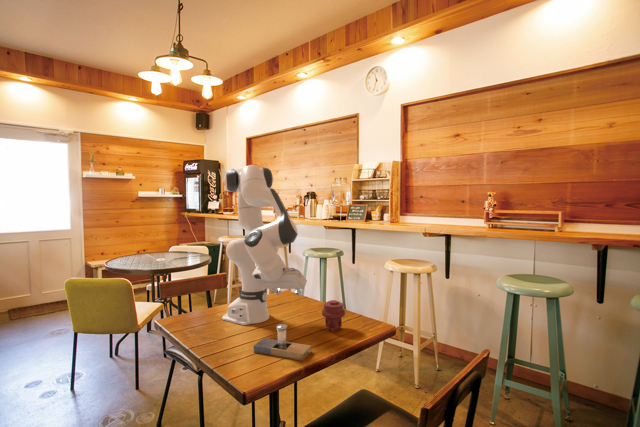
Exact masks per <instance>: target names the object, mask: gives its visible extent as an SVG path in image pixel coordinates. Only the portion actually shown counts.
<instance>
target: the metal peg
mask: <svg viewBox="0 0 640 427" xmlns="http://www.w3.org/2000/svg"><path fill="white" fill-rule="evenodd" d="M287 329H288V324H285V323H279V324H277V325H276V330H277V340H278V349H283V350H286V342H287Z"/></svg>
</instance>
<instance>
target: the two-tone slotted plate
mask: <svg viewBox="0 0 640 427" xmlns="http://www.w3.org/2000/svg"><path fill="white" fill-rule="evenodd" d="M253 353H257V354H261V355H268V356H272V357H273V356H274V357H279V358H284V359H289V360H291V359H292V360H295V361H301V362H303V361H304V360H305V359H306V358H307V357H308V356H309V355H310V354H311V353H312V345H309V344H303V343H298V342H291V341H286V350H283V349H278V339H272V338H265V337H264V338H262V339H261V340H260V341H258V342H257V343H256V344H254V345H253Z"/></svg>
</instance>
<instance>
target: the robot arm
mask: <svg viewBox="0 0 640 427" xmlns="http://www.w3.org/2000/svg"><path fill="white" fill-rule="evenodd" d="M273 182H274V176H273V172H272V170H271V169H270V168H267V167H259V166H258V165H254V164H249V165H246V166H244V167H242V168H236V169H234V168H232V169H228V170H226V172H225V175H224V177H223V183H224V186H225V188H226V190H227V191H228V192H232V193H236V192H237V200H236V201H237V215H238V216H237V217H238V218H237V220H238V225H239V226H240V228H241V229H243V230H245V231H247V232H248V234H247V235H246V236H245V237H241V238H239V237H238V238H236V239H233V240H230V241H229V242H228V243H227V245H226V247H225V253H226V257H227V258H228V259H229V261H231V262H232V263H233V264H235V265H236V267H237V268H238V270H239V273H240V277H241V289H239V290H238V291H237V295H238V297H237V298H236V299H235V300H233V301H232V302H231V303H230V304H229V305H228V307H227V312H226V313H225V314H224V315H223V316H222V321H227V322H230V323H233V324H237V325H240V326H241V325H242V326H248V325H252V324H259V323H263V322H266V321H268V320H269V319H270V314H269V310H268V304H267V298H268V296H267V295H268V294H267V293H268V291H267V290H271V291H272V292H273V293H275V295H276V296H277V295H278V296H281V294H282V290H283V289H284V290H291V289H292V290H295V292H294V293H295V295H297V296H301V294H302V290H303V289H304V288H305V286H306V285H307V281H308V280H307V278H306V276H305V275H304V274H303V273H302V272H301V271H300V270H299V269H298V268H295V267H287V266H286V264H285V262H284V260H283V259H282V257H281V256H280V254H278V253H279V249H280V248H279V247H282V246H285V245H290V244H292V243H294V242H295V240H296V239H297V237H298V229H297V226H296V224H295V222H294V221H293V220H292V219H291V217H290V214H289V213H288V210H287V209H286V206H285V205H284V202H283V201H282V199H281V197H280V195H279V194H278V192H277V191H276V190H275V189H274V188H272V187H273ZM266 207H271V208H273V210H274V212H275V214H276V216H277V218H276V219H275V220H274V221H271V222H269V223H267V224H264V221H263V220H264V219H263V214H262V208H266Z"/></svg>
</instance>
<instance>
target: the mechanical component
mask: <svg viewBox="0 0 640 427" xmlns="http://www.w3.org/2000/svg"><path fill="white" fill-rule="evenodd" d="M321 315H322V316H323V317H324V318H325V327H326V328H327V329H329V330H330V332H331V333H335V332H336V331H338V330H341V328H342V325H343V324H342V322H343V320H342V319H343V317H344V316H345V315H346V310H345V309H344V303H343V302H341V301H338V300H336V299H332V300H329V301H326V302H324V303H323V309H322V310H321Z"/></svg>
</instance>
